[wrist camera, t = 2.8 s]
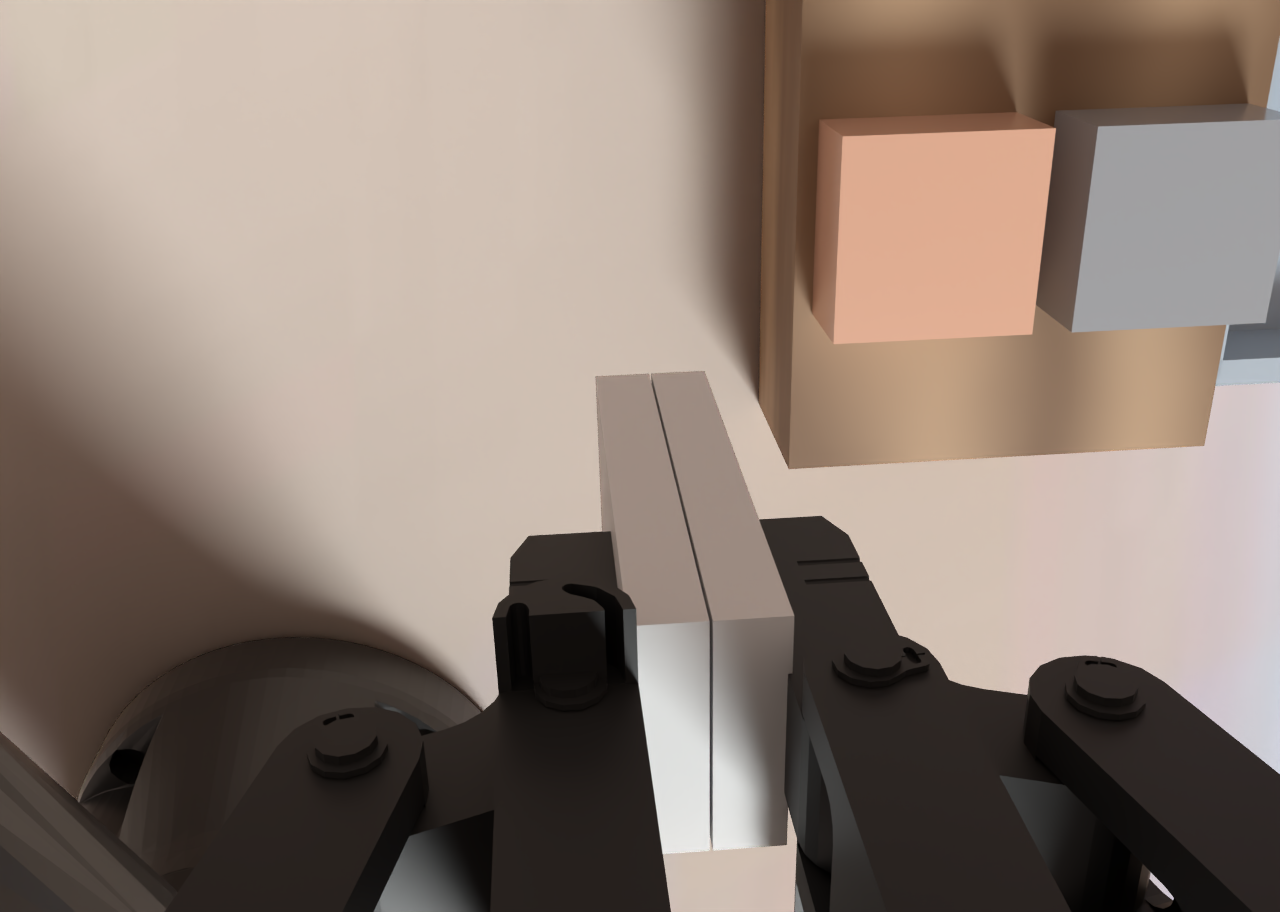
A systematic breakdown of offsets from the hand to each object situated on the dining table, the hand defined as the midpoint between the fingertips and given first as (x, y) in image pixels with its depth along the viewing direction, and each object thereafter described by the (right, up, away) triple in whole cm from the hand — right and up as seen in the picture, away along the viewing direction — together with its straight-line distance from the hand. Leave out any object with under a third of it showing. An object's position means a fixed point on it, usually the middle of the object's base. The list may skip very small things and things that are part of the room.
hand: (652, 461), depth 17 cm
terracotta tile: (+7, +6, +14) cm, 16 cm away
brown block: (+9, +9, +18) cm, 22 cm away
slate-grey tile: (+13, +7, +14) cm, 20 cm away
